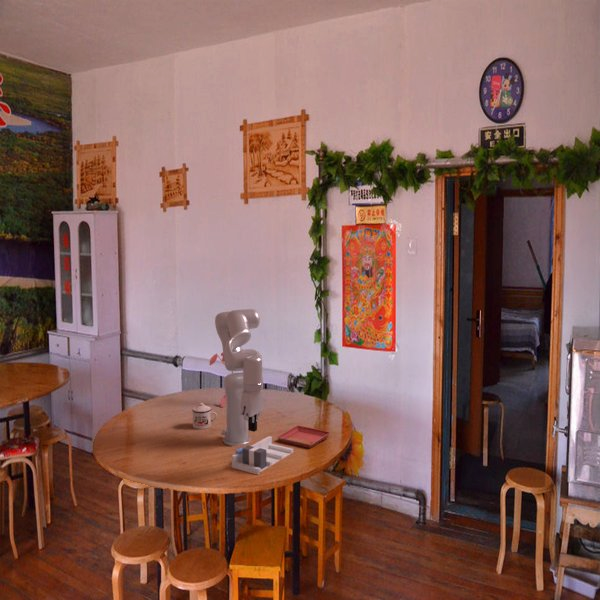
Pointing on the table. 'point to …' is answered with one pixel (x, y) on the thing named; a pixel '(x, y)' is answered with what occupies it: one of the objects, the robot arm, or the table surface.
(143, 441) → the table surface
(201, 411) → the teacup with lid
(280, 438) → the plant saucer
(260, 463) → the block
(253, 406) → the robot arm
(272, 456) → the white ribbed panel
